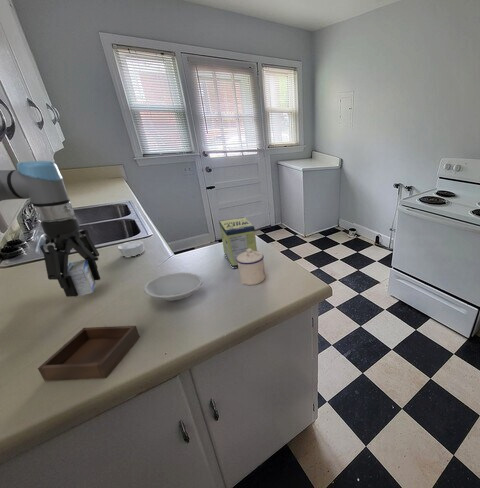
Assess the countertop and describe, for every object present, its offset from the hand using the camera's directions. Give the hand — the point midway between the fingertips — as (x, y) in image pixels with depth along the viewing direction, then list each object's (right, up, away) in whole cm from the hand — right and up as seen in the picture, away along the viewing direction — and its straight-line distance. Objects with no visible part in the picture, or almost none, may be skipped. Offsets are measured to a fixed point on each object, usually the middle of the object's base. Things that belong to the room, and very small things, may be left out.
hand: (84, 287), depth 85 cm
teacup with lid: (+49, +1, +13) cm, 50 cm away
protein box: (+41, +7, +27) cm, 49 cm away
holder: (+22, -13, -21) cm, 33 cm away
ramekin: (-7, +9, +31) cm, 33 cm away
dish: (+28, -4, +1) cm, 29 cm away
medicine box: (0, -1, 0) cm, 1 cm away
